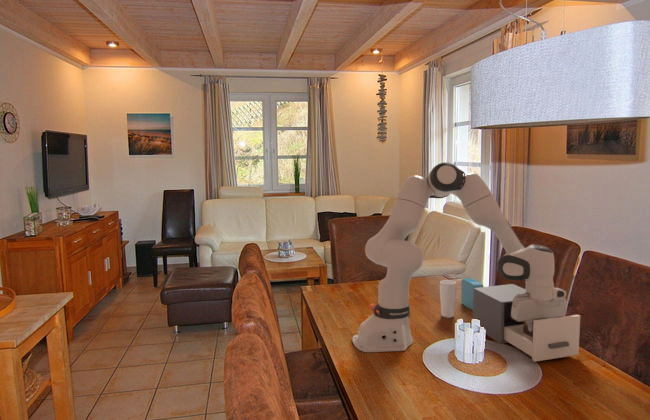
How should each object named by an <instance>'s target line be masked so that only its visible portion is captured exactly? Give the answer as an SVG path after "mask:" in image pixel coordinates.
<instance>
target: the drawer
mask: <svg viewBox="0 0 650 420" xmlns="http://www.w3.org/2000/svg"><path fill="white" fill-rule="evenodd" d="M523 325H524V324H522V325H514V326H506V327H504V340H506V341H507V342H509V343H508V344H511V345H512V346H514V347H515V348H517V349H518V350H521V351H522V352H523V353H525V354H526V355H528V356H530V357H531V360H532V362H541V361H547V360H553V359H559V358H566V357H572V356H573V357H574V356H579V353H580V330H581V315H580V314H573V315H566V316H565V315H564V316H557V317H552V318H548V319H541V320H534V322H533V338H532V337H530V336H529V335H527V334H525V333H523Z"/></svg>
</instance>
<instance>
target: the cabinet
mask: <svg viewBox="0 0 650 420" xmlns="http://www.w3.org/2000/svg"><path fill="white" fill-rule="evenodd" d="M525 291H526V288H523V287H521V286H519V285H517V284H513V283H507V284H501V285H490V286H484V287H480V288H474V294H473V311H472V320H473V319H478V320H480V325H481V327H484V328H485V329H486V334H487V335H486V334H485V335H486V336H488V337H489V338H491V339H492V340H494V341H495V342H497V343H499V344H500V343H502V344H507V343H508V344H510V343H509V342H507V341H506V340H504V327H506V326H514V325H522V324H524V321H520V322H518V321H516V320H514V319H513V318H512V317H511V309H512V304H513V298H514V297H515V296H516V295H517V294H524V293H525Z"/></svg>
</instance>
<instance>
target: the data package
mask: <svg viewBox="0 0 650 420" xmlns="http://www.w3.org/2000/svg"><path fill="white" fill-rule="evenodd" d="M460 286H461V288H460V289H461V291H460V296H461V298H460V299H461V301H460V302H461V303H462V305H463V306H465V307H466V308H468V309H469V310H471V311H472V312H473V294H474V288H480V287H485V286H484V284H483V283H481V282H480V281H478V280H476V279H474V278H472V277H471V278H462V279H461V285H460Z"/></svg>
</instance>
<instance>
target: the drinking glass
mask: <svg viewBox="0 0 650 420" xmlns="http://www.w3.org/2000/svg"><path fill="white" fill-rule="evenodd" d="M439 297H440V298H439V299H440V311H441V312H440V313H441V314H440V315H441V317H443V318H448V319H449V318H453V317H455V308H456V300H457V299H456V298H457V282H456V281H455V280H452V279H443V280H440V281H439Z"/></svg>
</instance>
